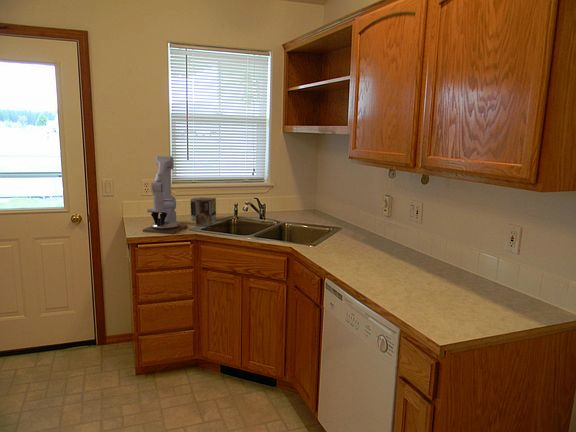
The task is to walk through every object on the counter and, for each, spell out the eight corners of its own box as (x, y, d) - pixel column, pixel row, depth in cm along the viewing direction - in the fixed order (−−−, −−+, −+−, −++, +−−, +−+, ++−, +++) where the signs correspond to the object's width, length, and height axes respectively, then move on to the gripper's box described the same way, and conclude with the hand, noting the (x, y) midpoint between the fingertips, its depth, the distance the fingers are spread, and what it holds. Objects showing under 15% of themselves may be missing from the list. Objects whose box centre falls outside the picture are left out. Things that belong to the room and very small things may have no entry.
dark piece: (216, 218, 314) (216, 197, 312) (212, 221, 305) (211, 199, 302) (195, 217, 316) (195, 196, 314) (190, 220, 307) (190, 198, 304)
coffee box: (212, 224, 294) (211, 199, 291) (209, 226, 288) (209, 201, 285) (198, 223, 295) (198, 199, 292) (195, 226, 289) (195, 201, 286)
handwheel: (161, 222, 287) (161, 213, 286) (185, 224, 282) (184, 215, 281) (145, 227, 271) (144, 217, 270) (170, 229, 266) (169, 220, 265)
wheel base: (158, 225, 288) (158, 222, 288) (187, 227, 284) (187, 224, 283) (142, 231, 270) (142, 228, 270) (173, 234, 266) (173, 230, 265)
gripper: (144, 202, 265) (145, 225, 267) (166, 204, 261) (167, 227, 264) (150, 201, 271) (151, 223, 274) (172, 202, 268) (173, 224, 271)
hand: (159, 224), depth 269 cm, fingers open, 3 cm apart
